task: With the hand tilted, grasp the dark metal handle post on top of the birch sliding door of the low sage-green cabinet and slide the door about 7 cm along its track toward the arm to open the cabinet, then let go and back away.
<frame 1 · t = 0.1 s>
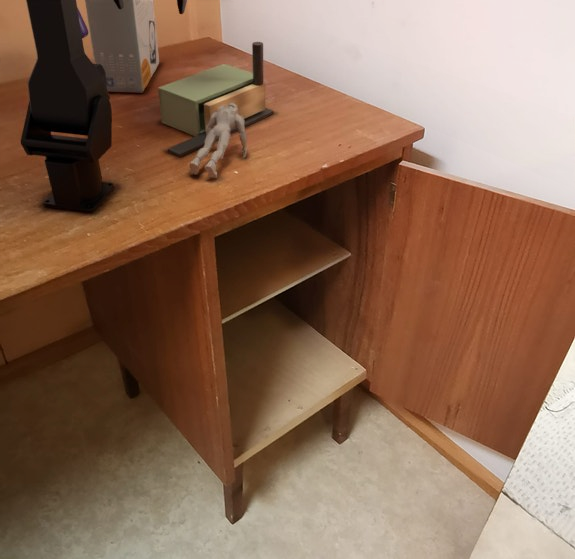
hand: (151, 11, 88), 15 cm above the table, tool pointing down, fingers open, 9 cm apart
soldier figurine: (219, 161, 83), on the table
toy lamp: (88, 122, 93), on the table
door: (235, 87, 89), point 6 cm above the table, slide at 0.0 cm
hard drive box: (131, 78, 107), on the table
cabinet: (236, 125, 93), on the table
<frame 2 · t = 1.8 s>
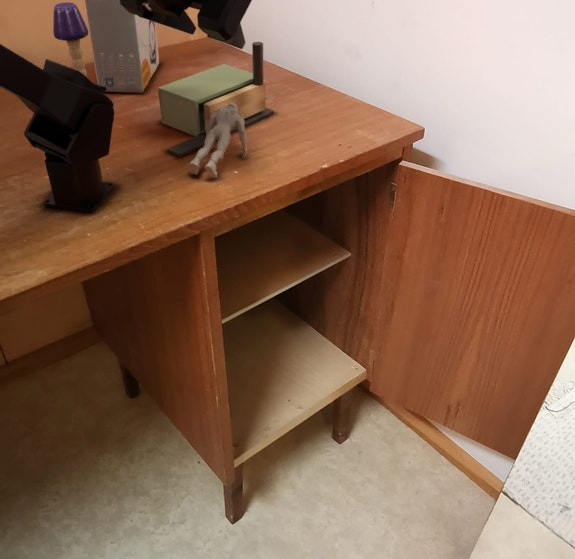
hand: (217, 38, 82), 13 cm above the table, tool tilted 45°, fingers open, 9 cm apart
nothing on the table moved.
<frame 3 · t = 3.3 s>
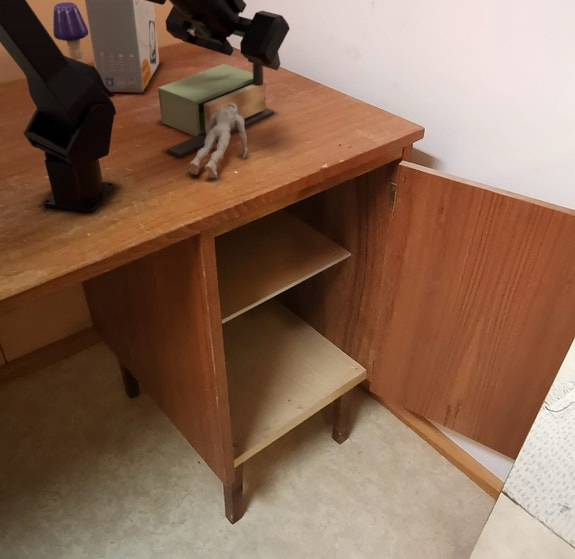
hand: (254, 59, 90), 9 cm above the table, tool tilted 45°, fingers open, 9 cm apart
nothing on the table moved.
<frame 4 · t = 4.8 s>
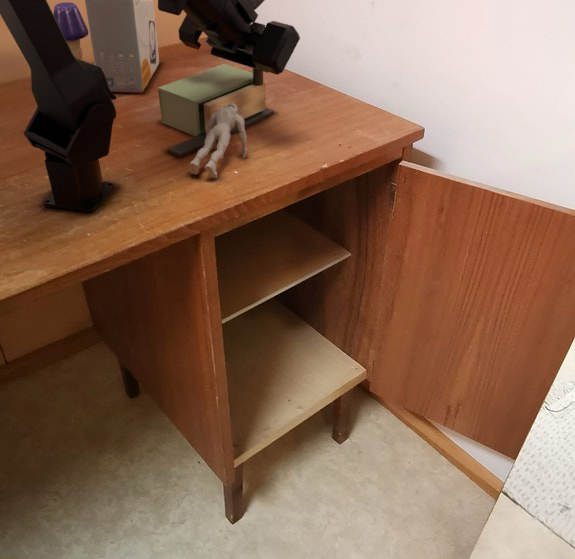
hand: (264, 67, 92), 7 cm above the table, tool tilted 45°, fingers closed on door, 2 cm apart
door: (235, 87, 89), point 6 cm above the table, slide at 0.0 cm, touching gripper
everything else where it was.
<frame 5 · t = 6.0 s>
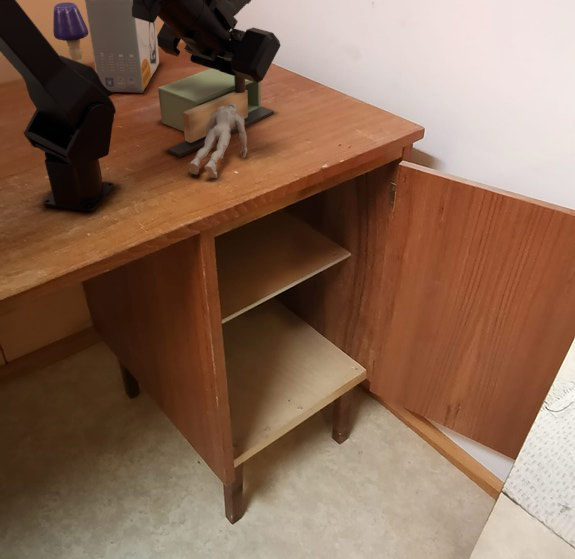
hand: (246, 74, 90), 7 cm above the table, tool tilted 45°, fingers closed on door, 2 cm apart
door: (215, 94, 86), point 6 cm above the table, slide at 4.0 cm, touching gripper
everything else where it was.
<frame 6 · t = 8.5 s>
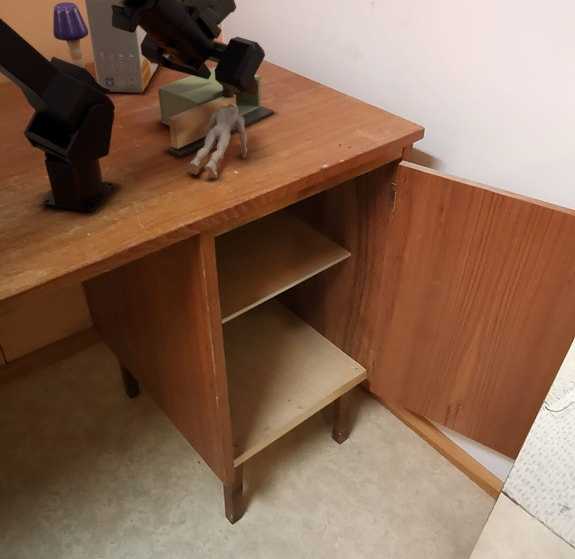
hand: (231, 83, 88), 7 cm above the table, tool tilted 45°, fingers open, 9 cm apart
door: (203, 99, 85), point 6 cm above the table, slide at 6.5 cm
everything else where it was.
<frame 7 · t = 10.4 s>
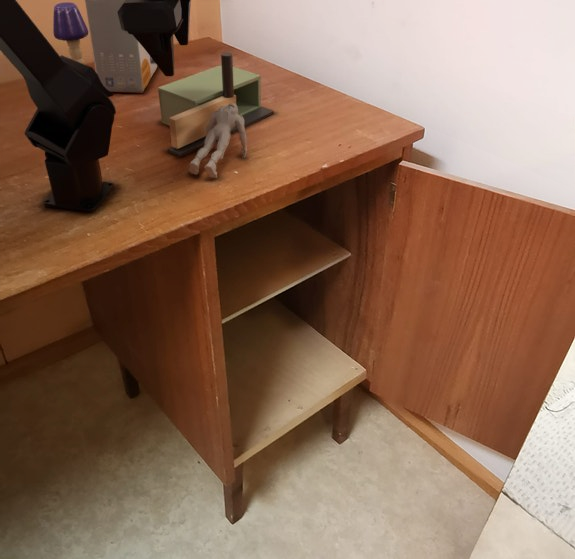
hand: (177, 59, 78), 13 cm above the table, tool pointing down, fingers open, 9 cm apart
nothing on the table moved.
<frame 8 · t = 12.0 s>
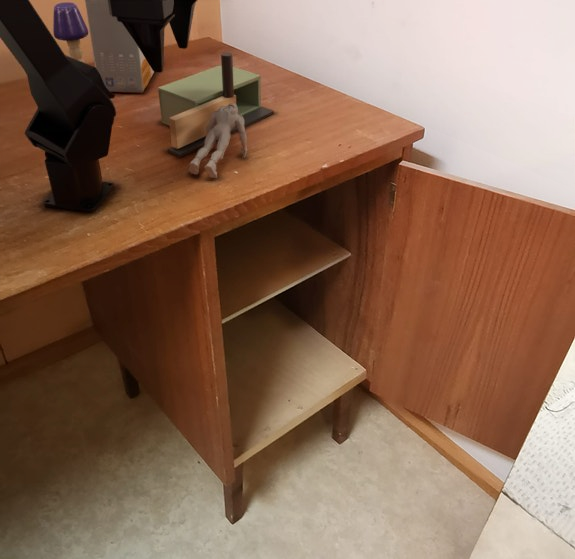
hand: (171, 59, 77), 13 cm above the table, tool pointing down, fingers open, 9 cm apart
nothing on the table moved.
at the end: door slide at 6.5 cm; the gripper is holding nothing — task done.
